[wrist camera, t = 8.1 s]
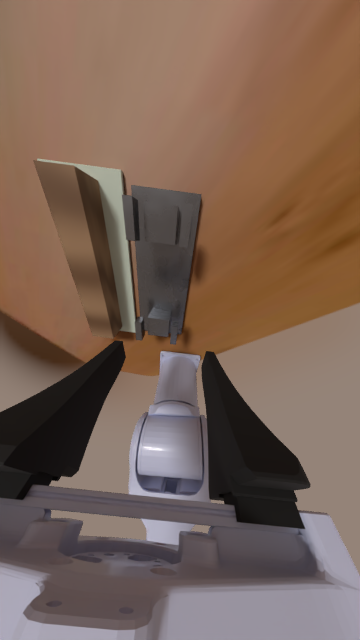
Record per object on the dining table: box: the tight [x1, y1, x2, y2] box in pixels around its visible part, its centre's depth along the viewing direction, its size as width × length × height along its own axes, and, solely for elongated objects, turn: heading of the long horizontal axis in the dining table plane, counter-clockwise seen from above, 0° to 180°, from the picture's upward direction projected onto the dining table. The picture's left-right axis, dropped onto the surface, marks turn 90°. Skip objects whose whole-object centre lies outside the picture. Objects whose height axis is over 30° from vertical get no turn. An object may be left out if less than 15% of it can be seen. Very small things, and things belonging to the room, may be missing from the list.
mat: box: [37, 159, 136, 333], centre depth 18 cm, size 20×8×1 cm, turn 174°
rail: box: [33, 160, 122, 338], centre depth 16 cm, size 18×3×3 cm, turn 174°
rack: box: [122, 185, 201, 344], centre depth 16 cm, size 18×7×5 cm, turn 174°
